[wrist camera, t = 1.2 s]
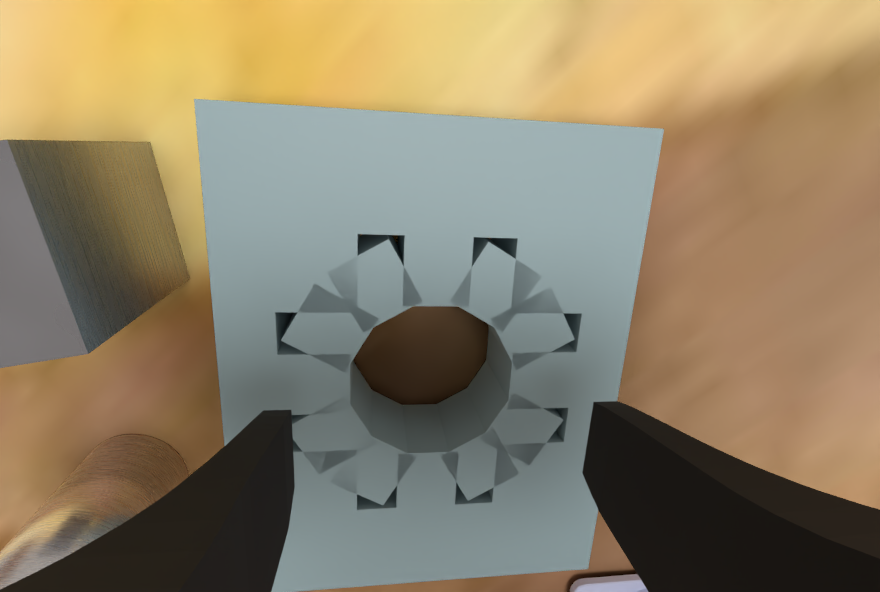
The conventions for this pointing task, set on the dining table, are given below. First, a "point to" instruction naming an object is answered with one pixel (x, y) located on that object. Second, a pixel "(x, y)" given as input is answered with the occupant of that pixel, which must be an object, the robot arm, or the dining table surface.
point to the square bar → (80, 245)
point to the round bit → (93, 502)
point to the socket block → (423, 284)
